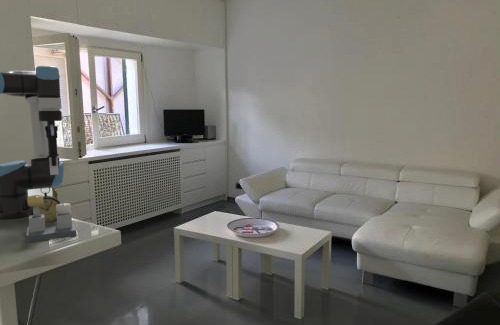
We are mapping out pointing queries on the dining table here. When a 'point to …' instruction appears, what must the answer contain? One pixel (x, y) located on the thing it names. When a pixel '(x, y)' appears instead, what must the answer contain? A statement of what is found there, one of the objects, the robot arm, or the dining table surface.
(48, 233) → the mount
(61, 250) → the dining table surface
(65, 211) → the knob ivory
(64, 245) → the dining table surface
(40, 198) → the knob mustard
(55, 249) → the dining table surface
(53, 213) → the alarm clock
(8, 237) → the dining table surface
